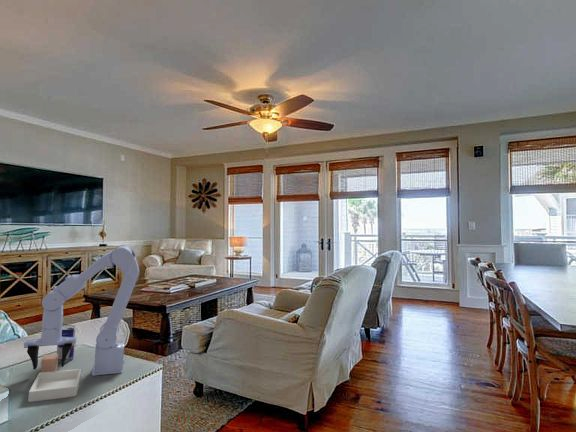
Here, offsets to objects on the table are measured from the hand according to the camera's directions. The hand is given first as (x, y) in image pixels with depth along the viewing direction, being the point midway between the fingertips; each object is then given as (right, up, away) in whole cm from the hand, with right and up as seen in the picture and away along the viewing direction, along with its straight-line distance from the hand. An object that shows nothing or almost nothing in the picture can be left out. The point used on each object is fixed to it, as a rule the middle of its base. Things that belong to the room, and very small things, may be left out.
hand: (49, 366), depth 118 cm
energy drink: (-2, -2, +11) cm, 12 cm away
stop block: (0, -3, 0) cm, 3 cm away
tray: (+8, -3, -8) cm, 12 cm away
